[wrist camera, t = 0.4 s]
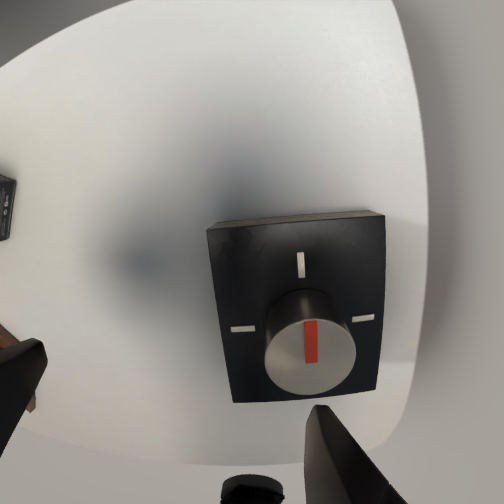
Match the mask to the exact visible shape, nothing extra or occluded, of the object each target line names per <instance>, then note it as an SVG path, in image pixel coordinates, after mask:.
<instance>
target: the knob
mask: <svg viewBox="0 0 504 504" xmlns="http://www.w3.org/2000/svg"><path fill="white" fill-rule="evenodd" d="M355 358H356V347H355V343H354V340H353V338H352V336H351V334H350V332H349V330H348V327H347V325H346V323H345V321H344V319H343V317H342V315H341V313H340V311H339V309H338V307H337V305H336V304H335V302H334V301H333V300H332V299H331V298H330V297H329V296H327V295H326V294H324V293H322V292H319V291H316V290H309V289H302V290H297V291H293V292H290V293H288V294H286V295H284V296H283V297H281V298H280V299H279V300H278V301H277V302H276V303H275V304H274V305H273V306H272V308H271V310H270V312H269V314H268V317H267V324H266V342H265V368H266V371H267V373H268V375H269V377H270V378H271V380H272V381H273V382H274V383H275V384H276V385H277V386H279V387H280V388H282V389H283V390H285V391H288V392H290V393H294V394H299V395H313V394H318V393H322V392H325V391H328V390H330V389H332V388H334V387H335V386H337V385H338V384H339V383H341V382H342V381H343V380H344V379H345V378H346V377H347V376H348V374H349V373H350V371H351V370H352V367H353V365H354V362H355Z"/></svg>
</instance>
